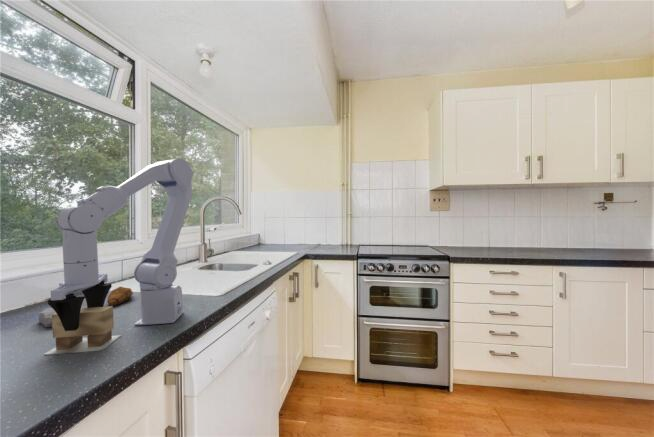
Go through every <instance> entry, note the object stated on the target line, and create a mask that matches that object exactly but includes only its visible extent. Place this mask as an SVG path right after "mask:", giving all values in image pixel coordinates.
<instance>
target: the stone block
mask: <svg viewBox="0 0 654 437" xmlns="http://www.w3.org/2000/svg"><path fill="white" fill-rule="evenodd" d="M81 308H87V302H86V299H85V298H84V300H83V303H82V306H81ZM54 313H56V312H55V311H54V309H53V308H52V307H47V308H44V309H43V310H42V311H40V313H39V314H38V323H39V324H41V325H43V326H44V328H52V314H54Z"/></svg>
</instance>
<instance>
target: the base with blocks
mask: <svg viewBox="0 0 654 437" xmlns="http://www.w3.org/2000/svg"><path fill="white" fill-rule="evenodd" d="M86 336H87V337H84V336H73V337H61V338H55V347H54V348H52V349H49V351H46V352H45V353H43V356H48V355H51V356H53V355H61V354H63V355H64V354H72V353H73V354H74V353H85V352H86V353H89V352H95V351H96V352H97V351H99V352H100V351H104V350H105V349H106V348H108V347H109V346H110V345H112V344H113V343H114V342H115V341H117V340H118V339H119V338H121V337H122V335H121V334H118V335H113V334H112V330H110V331H109V332H107V333H106V334H99V335H86Z"/></svg>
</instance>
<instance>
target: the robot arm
mask: <svg viewBox="0 0 654 437" xmlns="http://www.w3.org/2000/svg"><path fill="white" fill-rule="evenodd" d="M193 176H194V171H193V169H192V167H191V165H190V163H189V162H188V161H187V160H185V159H184V158H182V157H177V158H174V159H168V160H167V159H166V160H162V161H161V160H158V161H155V162H154V163H152V164H148V165H146V166H145V167H144V168H142V169H141V170H139V171H137V173H135V174H133V175H132V176H131V177H128V179H126V180H125V181H123V182H122V183H120V184H119V185H117V186H113V185H106V186H104V185H102V186H99V187H97V188H96V189H95V190H96V191H97V192H94V193H92V194H91V195H90V196H88V197H86V198H85V199H83V198H81V199H78V200H76V204H77V206H68V207H66V208H64V209H62V210H60V212H59V214H58V215H57V219H55V225H56V226H57V228H58V229H59V230H60V231H61V236H62V241H61V242H62V244H61V245H62V261H63V279H64V280H63V281H62V282H59V283H58V287H56V288H54V289H51V290H50V298H48V299H47V305H48V306H49V307H50V308H53V309H54V311H55V312H56V313H57V315H58V316H59V318H60V320H61V323H62V325H63V328H64V330H65V331H74V330H77V329H78V327H79V319H80V310H81V306H82V303H83V300H84V299H86V302H87V308H95V307H105V306H104V305H105V301H106V299H107V297H108V294H109V291H110V290H111V288H112V283H110V282H109V281H108V280H109V279H108V273H100V272H99V257H98V237H97V235H98V234H97V233H98V232H97V230H99V229H100V227H101V226H102V223H103V221H104V220H106V219H107V218H109V217H111V216H112V215H113V214H115V213H117V212H118V211H120V210H121V209H122V208H124V207H126V205H127V204H128V199H129V197H130V196H132V195H134V194H136V193H137V192H140V191H141V190H143V189H145V188H146V187H148V186H150V185H151V184H153V183H154V182H156V183H157V184H158V185H159V186H161V188H163V189H164V190H165V191H166V193H167V194H168V199H167V203H166V205H165V209H164V212H163V214H162V217H161V220H160V223H159V226H158V229H157V231H156V235H155V237H154V241H153V242H152V246H151V248H150V249H149V250H148V251H147V252H146V253H145V254H144V255H143V256H142V259H141V261H140V262H139V263H138V264H137V265H136V267H134V271H133V276H134V279H135V281H136V282H137V283H139V288H140V290H139V292H140V313H141V314H140V317H141V318H140V319H139V320H137V321H136V322H135V323H134V324H133V325H134V326H147V325H148V326H149V325H160V324H172V323H173V324H174V323H175V322H176V321H177V320H178V319H179V318H180V316H182V315H183V314H184V312H185V311H184V310H183V309H184V307H183V290H182V289H183V288H182V287H181V286H180V285H173V283H174V282H175V280H176V278H177V274H178V273H177V272H178V271H177V265H178V261H179V260H178V259H177V257H176V255H175V250H176V247H177V244H178V240H179V237H180V234H181V230H182V228H183V224H184V222H185V218H186V216H187V212H188V209H189V206H190V203H191V200H192V196H193V190H192V186H193V185H192V180H193ZM79 292H82V294H83V296H76V295H77V293H79ZM75 294H76V295H75Z"/></svg>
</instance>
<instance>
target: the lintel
mask: <svg viewBox="0 0 654 437" xmlns="http://www.w3.org/2000/svg"><path fill="white" fill-rule="evenodd" d="M114 325H115V324H114V306H103V307H95V308H81V310H80V319H79V327H78V329H77V330H74V331H65V330H64V328H63V325H62V323H61V320H60V318H59V316H58V315H57V313H54V314H52V327H51V329H52V338H53V339H56V338H61V337H73V336H82V337H84V336H85V337H86V336H88V335H99V334H106V333H107V332H109V331H110V330H111V331H112V330H113V329H115V328H114V327H115V326H114Z"/></svg>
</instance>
